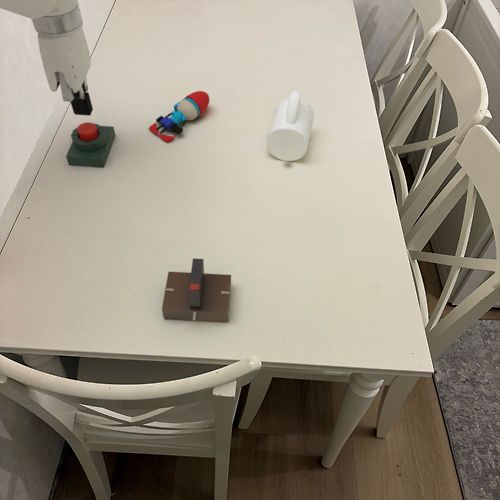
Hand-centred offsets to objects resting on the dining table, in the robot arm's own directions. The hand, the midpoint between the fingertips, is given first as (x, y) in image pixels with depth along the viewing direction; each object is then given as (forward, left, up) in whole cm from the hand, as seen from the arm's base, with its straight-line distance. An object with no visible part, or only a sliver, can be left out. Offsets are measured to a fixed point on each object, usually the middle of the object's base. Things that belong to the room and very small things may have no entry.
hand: (83, 112), depth 91 cm
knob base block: (+10, -42, -9) cm, 44 cm away
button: (0, 0, -5) cm, 5 cm away
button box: (0, 0, -9) cm, 9 cm away
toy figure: (+20, +3, -9) cm, 22 cm away
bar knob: (+10, -42, -6) cm, 43 cm away
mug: (+39, -11, -9) cm, 41 cm away
